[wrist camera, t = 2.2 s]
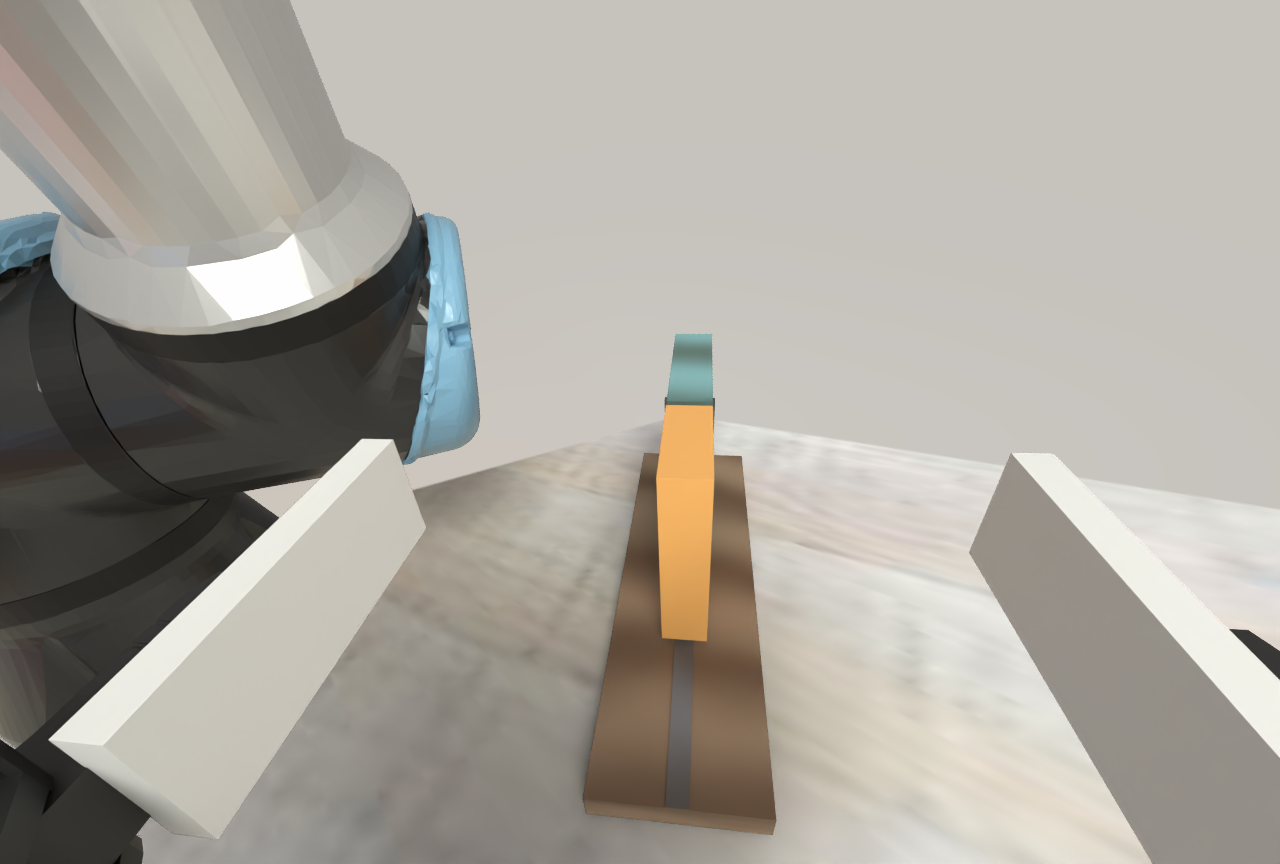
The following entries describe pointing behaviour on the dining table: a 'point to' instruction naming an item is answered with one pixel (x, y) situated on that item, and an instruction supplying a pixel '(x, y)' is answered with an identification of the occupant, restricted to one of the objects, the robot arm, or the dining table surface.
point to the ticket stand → (685, 665)
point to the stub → (685, 520)
